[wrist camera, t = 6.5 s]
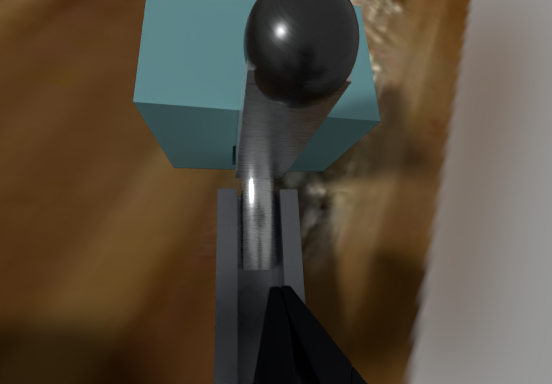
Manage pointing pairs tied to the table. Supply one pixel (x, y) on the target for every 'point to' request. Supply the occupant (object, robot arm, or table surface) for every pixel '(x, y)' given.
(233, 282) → the outer sleeve
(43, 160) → the table surface
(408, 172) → the table surface
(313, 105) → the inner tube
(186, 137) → the socket block
